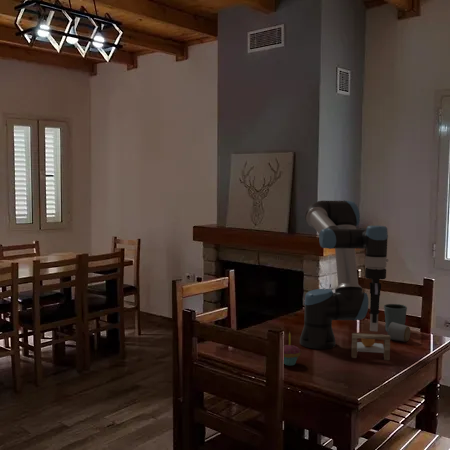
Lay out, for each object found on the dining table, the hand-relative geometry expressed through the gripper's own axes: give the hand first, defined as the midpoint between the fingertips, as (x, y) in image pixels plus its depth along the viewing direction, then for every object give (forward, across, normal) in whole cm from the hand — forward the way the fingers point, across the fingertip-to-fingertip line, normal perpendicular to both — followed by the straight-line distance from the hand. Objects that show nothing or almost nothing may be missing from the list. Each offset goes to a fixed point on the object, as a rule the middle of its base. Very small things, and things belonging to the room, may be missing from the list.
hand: (373, 330), depth 201 cm
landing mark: (+14, +27, 0) cm, 31 cm away
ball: (+12, +28, 0) cm, 31 cm away
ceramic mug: (+15, +43, -14) cm, 47 cm away
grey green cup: (+15, +57, -14) cm, 60 cm away
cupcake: (+15, -2, +31) cm, 34 cm away
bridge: (+14, +13, 0) cm, 19 cm away
